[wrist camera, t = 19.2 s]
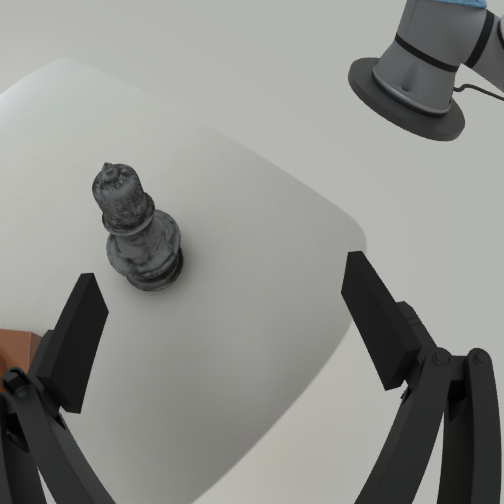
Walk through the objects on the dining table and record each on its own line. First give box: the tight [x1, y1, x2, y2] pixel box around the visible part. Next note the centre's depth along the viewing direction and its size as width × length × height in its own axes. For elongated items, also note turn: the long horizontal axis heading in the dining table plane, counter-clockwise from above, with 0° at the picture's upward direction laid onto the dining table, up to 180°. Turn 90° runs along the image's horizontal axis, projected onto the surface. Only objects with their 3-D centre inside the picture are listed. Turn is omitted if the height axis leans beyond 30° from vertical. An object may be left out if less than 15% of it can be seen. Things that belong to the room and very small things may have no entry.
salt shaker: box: [92, 162, 183, 291], centre depth 20 cm, size 6×6×12 cm
